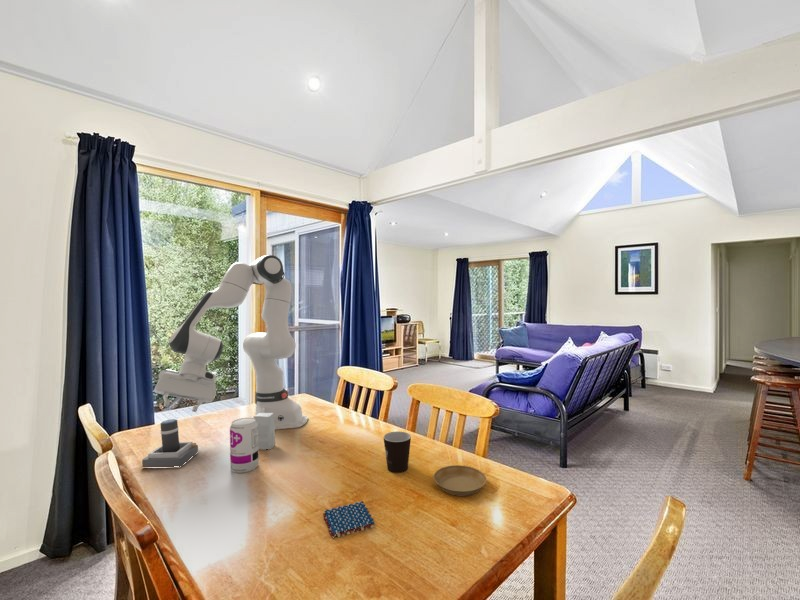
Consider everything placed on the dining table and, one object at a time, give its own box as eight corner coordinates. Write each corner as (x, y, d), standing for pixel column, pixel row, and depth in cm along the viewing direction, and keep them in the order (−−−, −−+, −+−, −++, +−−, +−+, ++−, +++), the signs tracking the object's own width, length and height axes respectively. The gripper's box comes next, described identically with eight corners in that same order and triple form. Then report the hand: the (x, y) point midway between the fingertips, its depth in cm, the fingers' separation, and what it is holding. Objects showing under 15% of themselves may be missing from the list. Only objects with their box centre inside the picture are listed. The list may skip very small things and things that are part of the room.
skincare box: (275, 445, 137) (274, 412, 136) (270, 450, 132) (269, 416, 132) (259, 444, 137) (258, 412, 137) (253, 449, 133) (253, 416, 133)
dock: (198, 453, 131) (197, 440, 130) (180, 467, 120) (180, 454, 119) (163, 454, 130) (162, 441, 130) (142, 469, 119) (142, 455, 119)
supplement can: (239, 476, 113) (238, 427, 113) (225, 469, 118) (224, 422, 118) (263, 466, 119) (262, 420, 119) (249, 460, 124) (248, 415, 124)
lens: (183, 447, 127) (180, 418, 127) (174, 454, 122) (172, 423, 122) (168, 449, 127) (165, 419, 127) (159, 455, 122) (156, 424, 122)
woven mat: (321, 517, 93) (321, 509, 92) (363, 507, 97) (362, 499, 97) (330, 542, 83) (330, 533, 83) (376, 530, 87) (375, 521, 87)
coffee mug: (408, 476, 112) (408, 442, 111) (380, 473, 113) (380, 441, 113) (415, 459, 123) (414, 428, 123) (389, 457, 125) (389, 427, 125)
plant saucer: (476, 506, 96) (475, 496, 96) (424, 491, 103) (424, 482, 103) (493, 481, 108) (493, 472, 108) (446, 469, 116) (446, 461, 116)
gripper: (163, 364, 138) (149, 400, 129) (220, 377, 148) (211, 411, 139) (159, 371, 141) (146, 406, 133) (215, 383, 152) (206, 416, 143)
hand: (180, 408), depth 136 cm, fingers open, 8 cm apart
